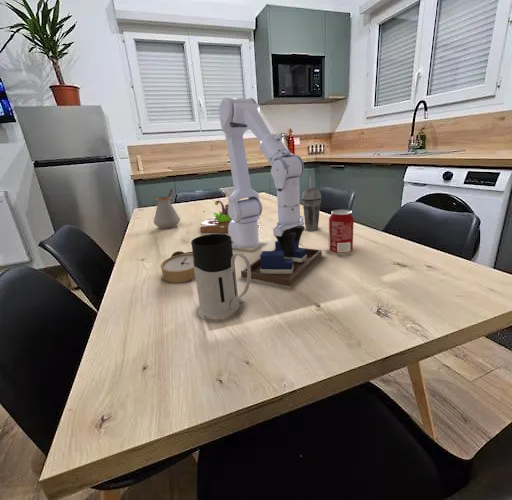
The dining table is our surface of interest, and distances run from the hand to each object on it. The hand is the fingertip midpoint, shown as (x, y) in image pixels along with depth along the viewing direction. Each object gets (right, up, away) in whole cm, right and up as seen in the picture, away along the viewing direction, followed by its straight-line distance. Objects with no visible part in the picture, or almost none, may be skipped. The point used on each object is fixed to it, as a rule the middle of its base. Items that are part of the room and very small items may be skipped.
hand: (290, 254), depth 81 cm
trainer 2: (0, -1, 0) cm, 1 cm away
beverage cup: (+12, +9, +31) cm, 35 cm away
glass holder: (-15, -12, -22) cm, 29 cm away
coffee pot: (-49, +13, +57) cm, 76 cm away
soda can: (+15, 0, +6) cm, 17 cm away
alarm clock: (-29, -5, 0) cm, 29 cm away
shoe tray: (-2, -4, -2) cm, 5 cm away
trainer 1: (-4, -4, -6) cm, 8 cm away
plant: (-23, +11, +44) cm, 51 cm away
